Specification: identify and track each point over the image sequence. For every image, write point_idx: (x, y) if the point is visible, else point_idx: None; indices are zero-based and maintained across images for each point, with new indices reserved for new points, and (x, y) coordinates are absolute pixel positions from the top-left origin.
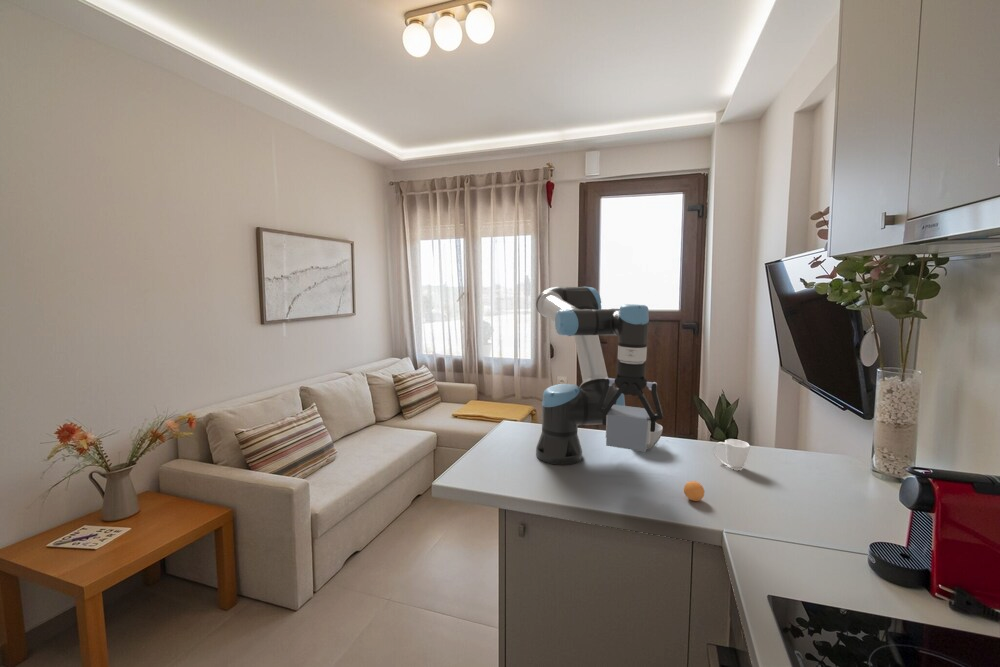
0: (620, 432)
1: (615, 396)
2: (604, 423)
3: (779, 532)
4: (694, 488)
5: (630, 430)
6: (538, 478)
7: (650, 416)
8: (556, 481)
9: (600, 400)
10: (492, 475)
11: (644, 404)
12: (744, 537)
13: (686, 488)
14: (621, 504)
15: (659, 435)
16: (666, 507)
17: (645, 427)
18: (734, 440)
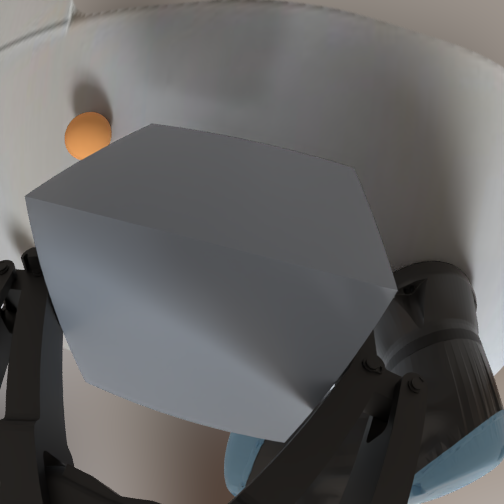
0: (269, 178)
1: (277, 502)
2: None
3: (5, 70)
4: (78, 121)
5: (189, 171)
6: (496, 184)
7: (42, 285)
8: (459, 169)
9: (412, 454)
10: None
11: (28, 366)
12: (45, 21)
13: (97, 127)
14: (285, 50)
15: None
16: (161, 68)
17: (74, 169)
18: None
